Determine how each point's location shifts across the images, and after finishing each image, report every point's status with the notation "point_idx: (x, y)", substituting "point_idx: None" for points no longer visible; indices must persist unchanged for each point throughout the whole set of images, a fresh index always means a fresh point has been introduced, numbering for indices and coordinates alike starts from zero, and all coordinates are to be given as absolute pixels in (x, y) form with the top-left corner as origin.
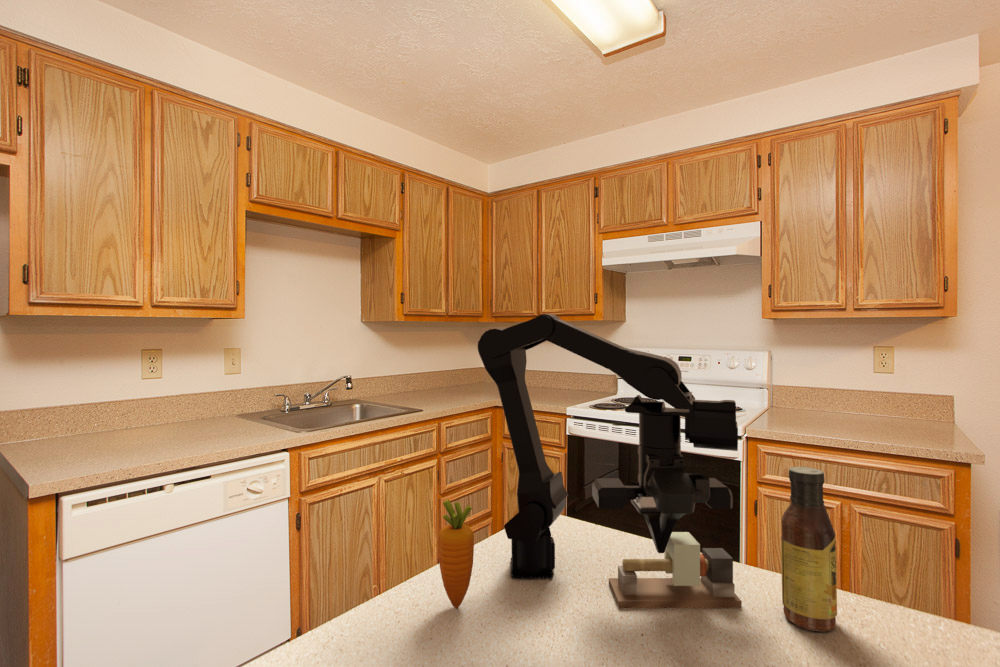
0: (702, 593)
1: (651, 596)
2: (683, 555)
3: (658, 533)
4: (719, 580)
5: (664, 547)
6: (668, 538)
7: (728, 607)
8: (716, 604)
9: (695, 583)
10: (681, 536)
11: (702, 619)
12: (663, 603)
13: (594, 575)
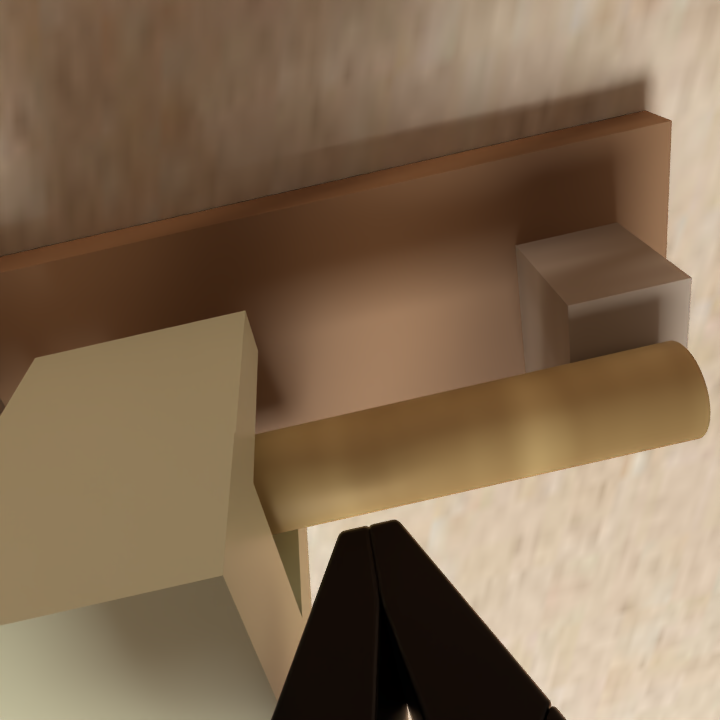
0: None
1: (414, 242)
2: (120, 495)
3: (467, 710)
4: None
5: (341, 575)
6: (299, 678)
7: None
8: None
9: (67, 358)
10: None
11: (51, 91)
12: (332, 191)
13: (697, 462)
